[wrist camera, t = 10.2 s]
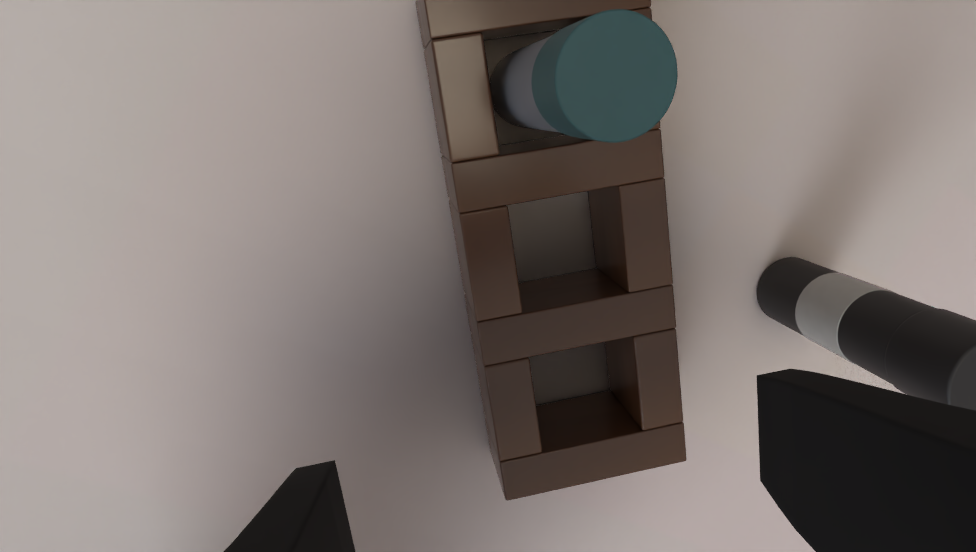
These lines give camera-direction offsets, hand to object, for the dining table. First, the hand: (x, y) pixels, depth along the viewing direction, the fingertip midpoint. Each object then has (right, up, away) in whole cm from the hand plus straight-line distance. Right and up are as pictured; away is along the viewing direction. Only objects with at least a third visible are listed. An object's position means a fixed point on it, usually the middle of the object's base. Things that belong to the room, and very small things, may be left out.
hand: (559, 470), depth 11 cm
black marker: (+9, +3, +11) cm, 15 cm away
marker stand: (+1, +5, +10) cm, 11 cm away
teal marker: (0, +9, +9) cm, 12 cm away
